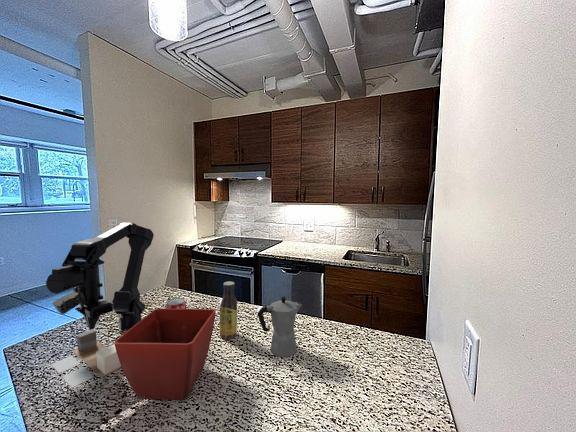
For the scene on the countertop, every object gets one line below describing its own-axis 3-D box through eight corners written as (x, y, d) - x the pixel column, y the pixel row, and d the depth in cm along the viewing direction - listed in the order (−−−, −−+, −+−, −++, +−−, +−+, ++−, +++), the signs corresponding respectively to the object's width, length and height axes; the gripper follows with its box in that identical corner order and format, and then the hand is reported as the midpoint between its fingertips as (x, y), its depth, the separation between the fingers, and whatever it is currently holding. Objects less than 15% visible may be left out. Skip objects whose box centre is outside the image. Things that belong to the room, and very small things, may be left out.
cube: (97, 368, 75) (96, 351, 75) (116, 358, 79) (115, 343, 79) (104, 374, 73) (103, 357, 72) (124, 364, 77) (123, 348, 76)
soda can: (179, 341, 91) (178, 306, 90) (162, 339, 92) (160, 304, 91) (191, 331, 98) (190, 298, 97) (174, 329, 99) (173, 296, 98)
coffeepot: (296, 338, 93) (296, 289, 92) (307, 353, 84) (307, 299, 83) (254, 346, 88) (254, 295, 87) (261, 363, 79) (261, 306, 78)
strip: (72, 353, 84) (71, 336, 83) (97, 342, 89) (96, 326, 89) (101, 380, 72) (100, 360, 71) (128, 366, 77) (127, 347, 77)
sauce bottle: (216, 338, 93) (214, 284, 92) (226, 329, 99) (225, 279, 97) (231, 341, 91) (230, 286, 89) (241, 333, 97) (240, 281, 95)
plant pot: (157, 359, 81) (155, 307, 80) (217, 360, 81) (216, 308, 79) (115, 409, 62) (111, 342, 61) (193, 411, 62) (191, 344, 60)
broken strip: (50, 367, 77) (50, 364, 77) (71, 358, 81) (71, 355, 81) (72, 391, 68) (71, 387, 68) (94, 380, 72) (94, 376, 72)
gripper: (44, 283, 80) (48, 331, 81) (66, 296, 69) (70, 351, 71) (88, 273, 89) (91, 317, 90) (113, 284, 79) (115, 333, 80)
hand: (91, 328), depth 83 cm, fingers closed
